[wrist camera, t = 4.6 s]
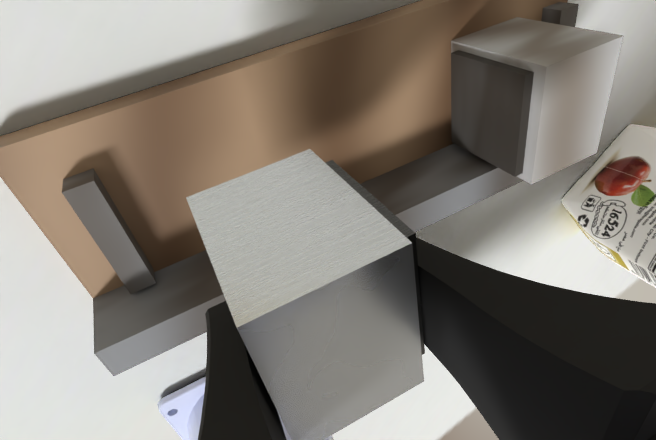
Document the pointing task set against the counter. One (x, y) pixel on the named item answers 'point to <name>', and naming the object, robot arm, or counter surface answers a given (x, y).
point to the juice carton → (621, 202)
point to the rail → (307, 144)
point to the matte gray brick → (316, 289)
